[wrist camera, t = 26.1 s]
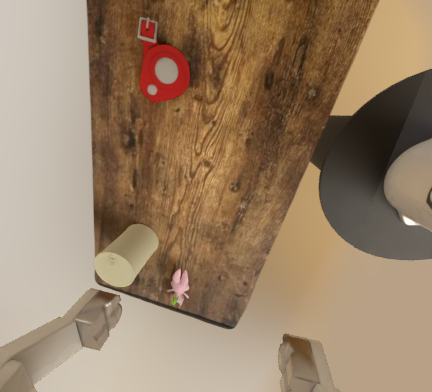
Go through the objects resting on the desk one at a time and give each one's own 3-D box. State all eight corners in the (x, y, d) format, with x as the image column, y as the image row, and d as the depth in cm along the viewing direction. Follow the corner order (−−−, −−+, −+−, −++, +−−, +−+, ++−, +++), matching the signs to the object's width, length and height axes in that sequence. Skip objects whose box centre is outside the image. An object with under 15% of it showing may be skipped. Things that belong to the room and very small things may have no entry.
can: (158, 227, 50) (132, 259, 39) (158, 257, 54) (133, 293, 43) (124, 220, 51) (89, 249, 40) (126, 249, 55) (94, 283, 44)
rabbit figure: (189, 299, 59) (196, 267, 51) (182, 320, 54) (189, 288, 46) (169, 292, 60) (173, 260, 52) (160, 312, 55) (163, 280, 47)
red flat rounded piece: (201, 71, 35) (163, 114, 36) (199, 76, 39) (165, 115, 40) (144, 2, 30) (102, 55, 32) (148, 15, 34) (111, 62, 36)
